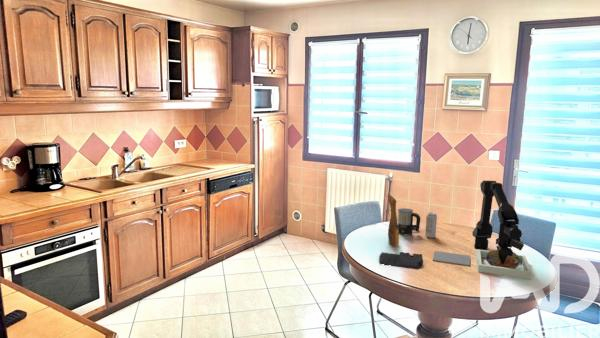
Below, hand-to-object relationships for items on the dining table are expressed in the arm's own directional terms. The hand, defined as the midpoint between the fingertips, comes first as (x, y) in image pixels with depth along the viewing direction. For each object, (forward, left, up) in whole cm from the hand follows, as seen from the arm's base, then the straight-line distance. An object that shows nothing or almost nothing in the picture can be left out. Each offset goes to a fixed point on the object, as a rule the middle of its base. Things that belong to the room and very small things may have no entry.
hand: (502, 262), depth 205 cm
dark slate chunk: (-48, -14, -3) cm, 50 cm away
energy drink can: (-37, +34, -2) cm, 50 cm away
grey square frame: (0, 0, -2) cm, 2 cm away
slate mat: (-24, +1, -2) cm, 24 cm away
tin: (0, 0, -2) cm, 2 cm away
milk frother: (-51, +39, -2) cm, 65 cm away
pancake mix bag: (-57, +14, -2) cm, 59 cm away
